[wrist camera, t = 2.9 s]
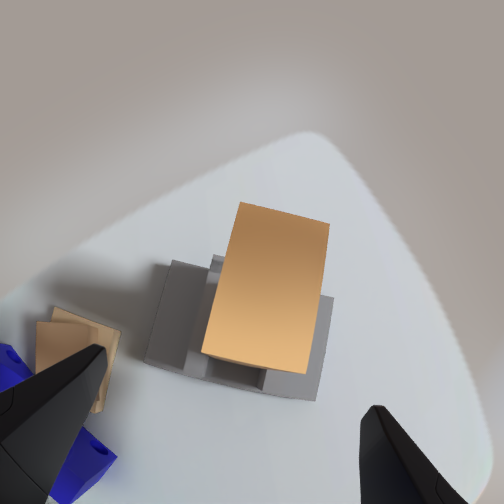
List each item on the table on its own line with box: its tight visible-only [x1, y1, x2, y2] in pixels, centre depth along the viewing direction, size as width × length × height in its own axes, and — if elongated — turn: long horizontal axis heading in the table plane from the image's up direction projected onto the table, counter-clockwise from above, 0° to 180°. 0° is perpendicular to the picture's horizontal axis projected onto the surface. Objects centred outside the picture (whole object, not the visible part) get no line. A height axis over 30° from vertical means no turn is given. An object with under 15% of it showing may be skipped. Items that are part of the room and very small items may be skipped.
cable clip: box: [0, 343, 118, 504], centre depth 13 cm, size 12×4×6 cm, turn 55°
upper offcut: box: [36, 321, 100, 402], centre depth 16 cm, size 5×4×2 cm
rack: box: [144, 255, 334, 401], centre depth 18 cm, size 7×11×4 cm, turn 77°
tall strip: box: [201, 202, 330, 374], centre depth 13 cm, size 4×2×12 cm, turn 167°
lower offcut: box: [50, 307, 121, 414], centre depth 18 cm, size 6×5×2 cm
